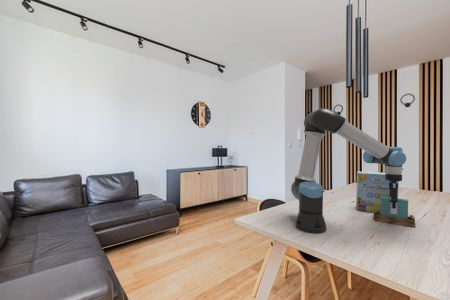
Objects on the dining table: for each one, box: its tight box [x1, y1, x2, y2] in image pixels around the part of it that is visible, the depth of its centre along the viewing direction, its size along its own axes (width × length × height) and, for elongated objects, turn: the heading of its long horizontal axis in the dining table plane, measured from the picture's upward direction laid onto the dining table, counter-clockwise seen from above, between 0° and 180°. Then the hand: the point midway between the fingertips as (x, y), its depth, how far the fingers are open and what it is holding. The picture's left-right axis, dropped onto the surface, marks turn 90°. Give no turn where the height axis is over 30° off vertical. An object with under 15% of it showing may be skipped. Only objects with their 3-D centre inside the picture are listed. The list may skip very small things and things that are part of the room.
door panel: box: [381, 197, 409, 219], centre depth 118 cm, size 4×12×12 cm, turn 53°
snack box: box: [355, 171, 400, 213], centre depth 135 cm, size 22×9×26 cm, turn 62°
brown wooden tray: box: [372, 210, 416, 229], centre depth 118 cm, size 18×12×4 cm, turn 54°
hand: (392, 210), depth 118 cm, fingers open, 12 cm apart
